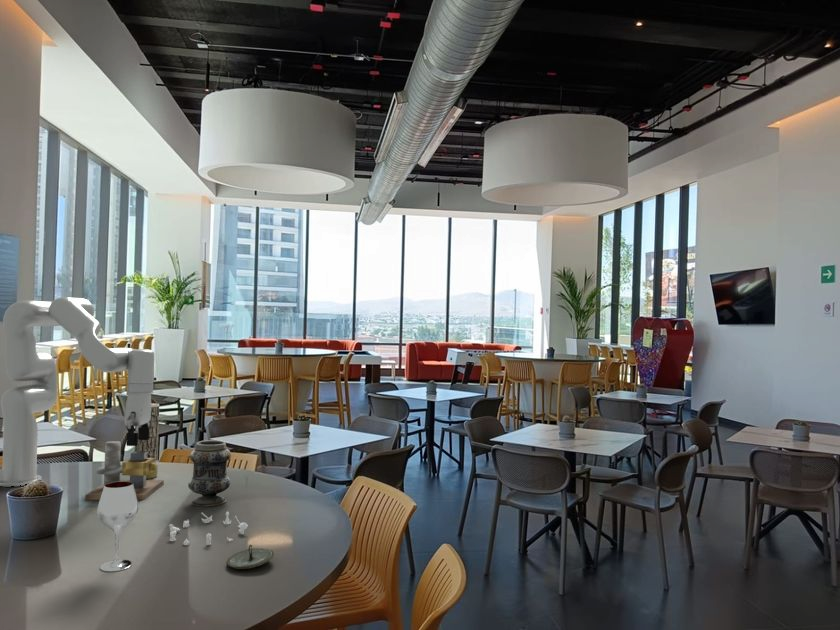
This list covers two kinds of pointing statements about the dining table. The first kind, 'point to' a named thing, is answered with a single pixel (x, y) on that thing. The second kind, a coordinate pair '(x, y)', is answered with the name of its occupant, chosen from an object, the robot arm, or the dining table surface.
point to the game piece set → (208, 536)
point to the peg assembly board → (124, 472)
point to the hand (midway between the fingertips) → (137, 442)
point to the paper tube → (151, 439)
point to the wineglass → (117, 516)
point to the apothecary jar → (209, 472)
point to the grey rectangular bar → (138, 480)
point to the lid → (250, 558)
